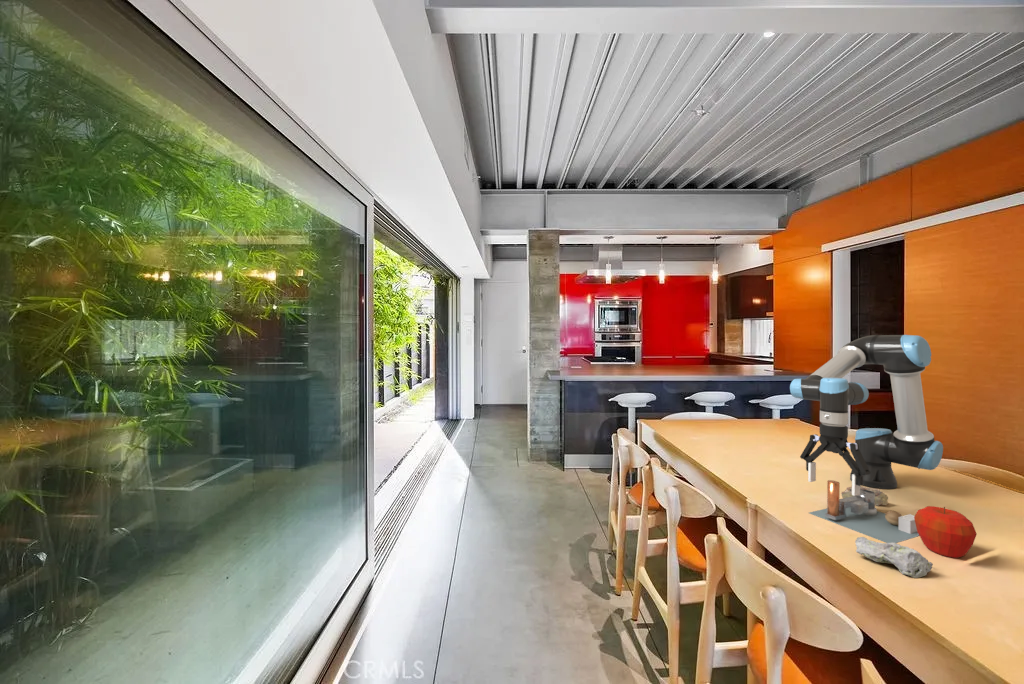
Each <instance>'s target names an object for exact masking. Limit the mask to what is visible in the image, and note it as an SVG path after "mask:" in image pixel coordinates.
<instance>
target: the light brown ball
mask: <svg viewBox="0 0 1024 684" xmlns="http://www.w3.org/2000/svg"><path fill="white" fill-rule="evenodd" d="M885 514H886V515H885V518H886V520H887V521H888V522H889V523H890V524H892V525H899V517H901V516H903V515H902V514H901V513H900V512H898V511H896V510H889V511H887V512H885Z"/></svg>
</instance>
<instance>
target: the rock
mask: <svg viewBox="0 0 1024 684" xmlns="http://www.w3.org/2000/svg"><path fill="white" fill-rule="evenodd" d="M860 489H863V490H868V491H872V492H874V493H875V507H880V505H882V506H886V505H888V503H889V502H888V501H889V496H888V495H887V494H886V493H885V492H883V491H881V489H880V488H874V487H868V486H863V485H861V486H860ZM840 494H841V497H842V498H841V499H843V498H847V497H852V496H854V495H852V486H848V487H846V489H844V491H841V493H840Z"/></svg>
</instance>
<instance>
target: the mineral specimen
mask: <svg viewBox="0 0 1024 684" xmlns="http://www.w3.org/2000/svg"><path fill="white" fill-rule="evenodd" d="M854 543H855V546H856V550H855V551H856V553H858V554H859V555H861V556H864V557H865V558H867V559H870V560H871V561H874V562H876V563H881V564H891V565H894V566H895V567H896V568H897V570H898V571H899V572H900V573H901V574H902V575H905V576H909V577H912V579H916V578H917V579H919V578H921V577H924V576H927V574H928V573H930V572H931V570H932V569H933V568H932V567H933V565H934V564H933V562H931V561H929V560H928V559H927V558H926V557H924V556H923V555H922V554H921V553H920V552H918V550H916V549H914V548H910V547H909V546H904V545H901V544H900V543H893V542H892V543H885V542H876V541H874V540H870V539H868V538H866V537H864V536H860V537H857V538H856V539H855V541H854Z"/></svg>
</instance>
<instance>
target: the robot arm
mask: <svg viewBox="0 0 1024 684" xmlns="http://www.w3.org/2000/svg"><path fill="white" fill-rule="evenodd" d="M931 362H932V351H931V346H930V344H929V342H928V341H927V339H925V337H923V336H921V335H912V334H889V335H887V334H885V335H884V334H883V335H882V334H881V335H878V334H872V335H866V336H862V337H860V338H856V339H854V340H853V341H850V342H848V343H846V344H844V345H843V346H842V347H840V348H839V349H838V351H837V354H835V356H833V357H832V358H831V359H829V360H828V361H827V362H825V363H824V364H823V365H821V366H820V367H819V368H817V369H816V370H815V371H814V372H812V373H811V374H809V376H807V377H806V378H794V379H793V380H792V381H791V382H790V384H789V391H790V395H791V396H792V397H793V398H794V399H801V400H806V401H817V402H819V422H820V424H819V435H818V434H816V433H815V434H810V435H809V441H808V442H807V444H806V445H805V448H804V449H803V451H802V453H801V454H800V456H799V457H800V459H801V460H804V461H805V462H806V463H805V470H806V471H807V473H808V474H807V475H808V477H807V478H808V480H807V481H808V482H809V483H812V482H816V481H817V477H816V476H817V469H816V468H817V462H815V460H817V458H819V457H820V456H821V455H822V454H823V453H824V452H829V453H830V452H831V453H833V454H838V455H839V456H840V457H842V458H843V460H844V461H845V463H846V465H848V467H849V468H850V469H851V471H850V473H849V479H850V481H851V487H852V495H854V496H856V495H860V486H863V487H868V488H874V489H880V490H881V489H882V490H883V489H884V490H893V489H897V487H898V481H897V478H896V476H895V473H894V470H893V468H892V464H896V465H897V464H898V465H903V466H906V467H911V468H916V469H918V470H919V469H921V470H928V471H933V470H935V469H936V468H937V467H938V466H939V465H940V463H941V460H942V457H943V454H944V453H943V452H944V445H943V443H942V442H941V441H939V440H935V435H934V434H933V432H931V431H929V430H928V422H927V415H926V408H925V400H924V392H923V385H922V378H921V377H922V376H921V375H922V374H921V373H923V372H924V371H925V370H926V367H928V366H930V364H931ZM863 365H879V366H880V365H881V366H883V371H884V372H885V373H887V374H889V377H890V384H891V391H892V396H893V397H892V399H893V403H894V404H893V405H894V413H895V419H896V425H897V426H896V427H897V429H896V430H895V431H894V432H893V431H892V430H891V429H888V428H883V427H882V428H881V427H880V428H879V427H877V428H876V427H874V428H872V427H871V428H870V427H865V428H859V429H857V430H856V431H855V437H854V442H849V441H848V436H849V430H848V429H849V427H848V426H847V425H849V406H852V405H855V406H856V405H859V404H863V403H865V402H866V401H867V400H868V398H869V395H870V393H869V390H868V388H867V387H866V386H865V385H864V384H862V383H861V382H860V383H859V382H855V381H854V382H852V381H850V382H849V381H848V379H846V378H845V376H847V375H848V374H849V373H850V372H851V371H853V370H854V369H856V368H860V367H863ZM818 442H820V445H818V447H817V448H816V449H815V446H816V445H817V443H818ZM814 449H815V450H814ZM813 450H814V451H813ZM849 450H850V451H849ZM851 454H852V455H851Z"/></svg>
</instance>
